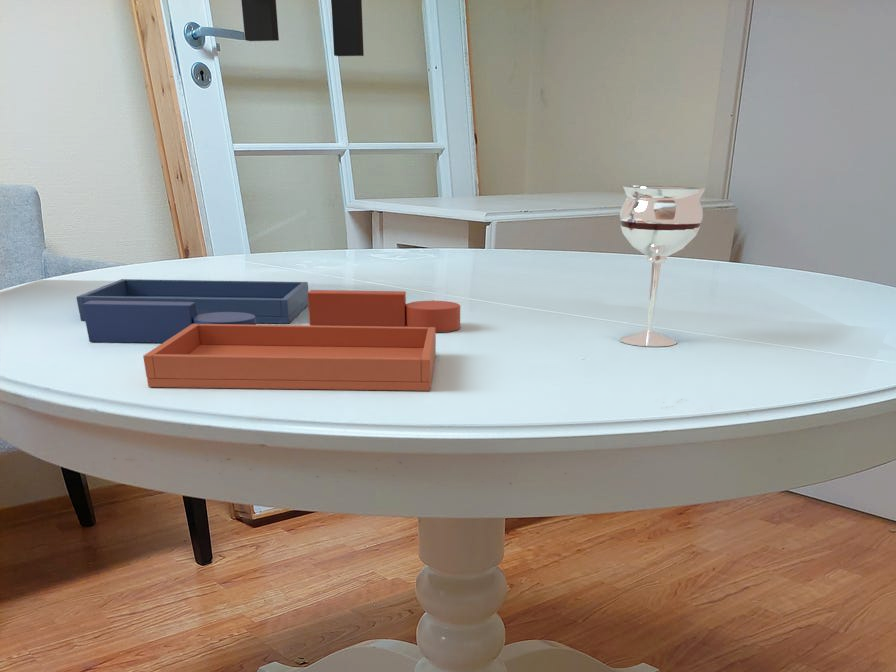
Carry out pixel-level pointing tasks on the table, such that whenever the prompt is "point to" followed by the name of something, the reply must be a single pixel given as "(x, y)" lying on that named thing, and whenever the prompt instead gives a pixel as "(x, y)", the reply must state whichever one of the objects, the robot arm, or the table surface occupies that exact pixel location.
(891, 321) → the table surface
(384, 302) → the bar with round end
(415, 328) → the terracotta tray
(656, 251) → the wineglass
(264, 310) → the blue tray
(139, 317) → the blue block
